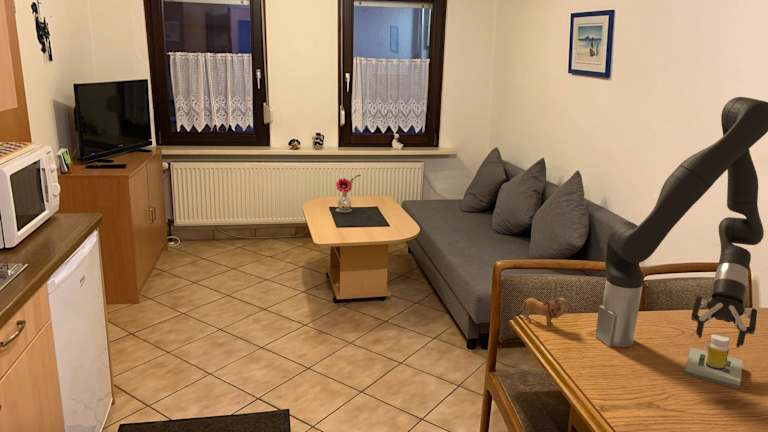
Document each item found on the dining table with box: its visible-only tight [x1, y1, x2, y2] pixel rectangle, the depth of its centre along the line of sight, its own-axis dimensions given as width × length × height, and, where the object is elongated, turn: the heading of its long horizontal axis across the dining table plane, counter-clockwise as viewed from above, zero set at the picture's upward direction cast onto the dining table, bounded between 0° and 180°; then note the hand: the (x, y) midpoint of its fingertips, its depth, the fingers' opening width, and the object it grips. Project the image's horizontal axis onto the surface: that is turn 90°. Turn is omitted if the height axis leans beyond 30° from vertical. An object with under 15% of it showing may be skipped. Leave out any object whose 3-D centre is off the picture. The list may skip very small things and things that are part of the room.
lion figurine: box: [515, 297, 568, 329], centre depth 178 cm, size 15×5×9 cm, turn 60°
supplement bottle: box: [704, 333, 730, 371], centre depth 154 cm, size 5×5×8 cm
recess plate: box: [684, 347, 743, 390], centre depth 155 cm, size 12×12×2 cm
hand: (718, 341), depth 153 cm, fingers open, 8 cm apart
